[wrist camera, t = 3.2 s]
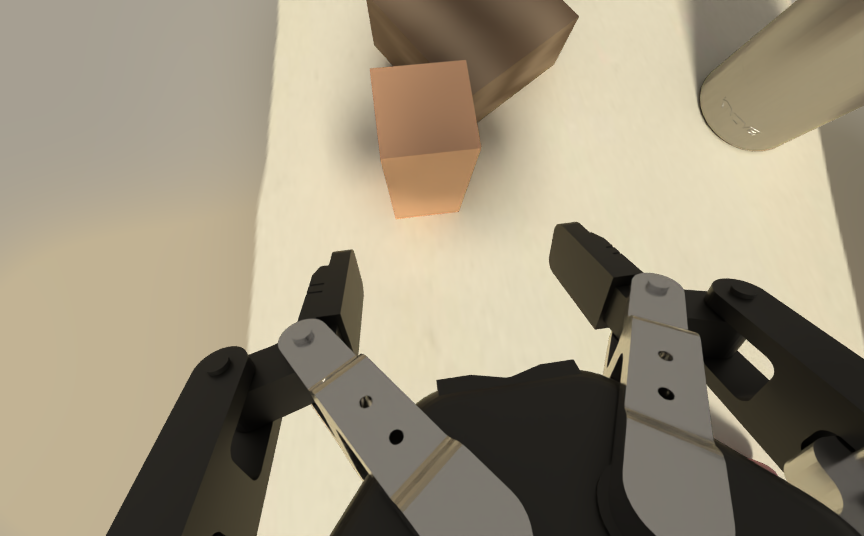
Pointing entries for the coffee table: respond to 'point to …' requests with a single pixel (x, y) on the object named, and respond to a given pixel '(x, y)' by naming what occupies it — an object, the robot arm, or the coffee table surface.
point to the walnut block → (475, 39)
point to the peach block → (426, 135)
